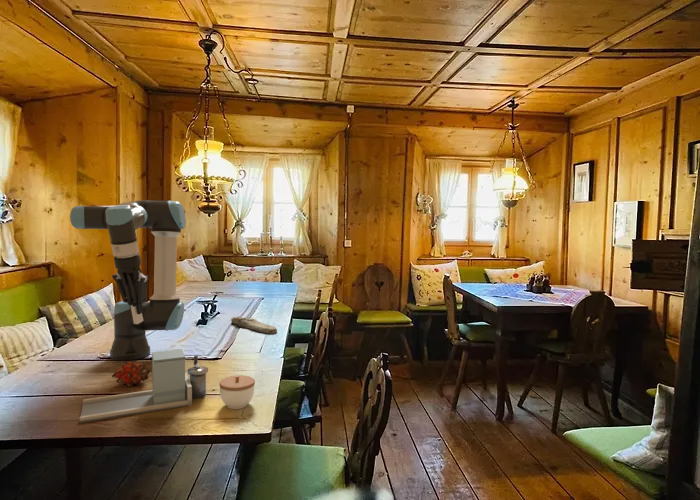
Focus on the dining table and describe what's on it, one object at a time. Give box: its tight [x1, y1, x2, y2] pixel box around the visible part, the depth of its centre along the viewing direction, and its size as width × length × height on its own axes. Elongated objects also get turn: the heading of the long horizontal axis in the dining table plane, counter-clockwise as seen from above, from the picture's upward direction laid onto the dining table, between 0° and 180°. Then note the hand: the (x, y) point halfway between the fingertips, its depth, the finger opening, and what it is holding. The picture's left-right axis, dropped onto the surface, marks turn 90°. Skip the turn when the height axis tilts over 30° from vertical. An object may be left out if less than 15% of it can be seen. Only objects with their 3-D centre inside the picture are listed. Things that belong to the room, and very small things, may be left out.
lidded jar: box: [218, 374, 256, 410], centre depth 142 cm, size 11×11×9 cm
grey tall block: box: [151, 348, 186, 405], centre depth 144 cm, size 9×9×14 cm
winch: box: [187, 355, 209, 399], centre depth 150 cm, size 6×9×12 cm
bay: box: [79, 371, 193, 424], centre depth 141 cm, size 30×14×6 cm, turn 117°
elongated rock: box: [230, 316, 278, 335], centre depth 238 cm, size 35×5×10 cm
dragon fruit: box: [111, 360, 151, 387], centre depth 157 cm, size 8×8×12 cm
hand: (138, 322), depth 151 cm, fingers closed
